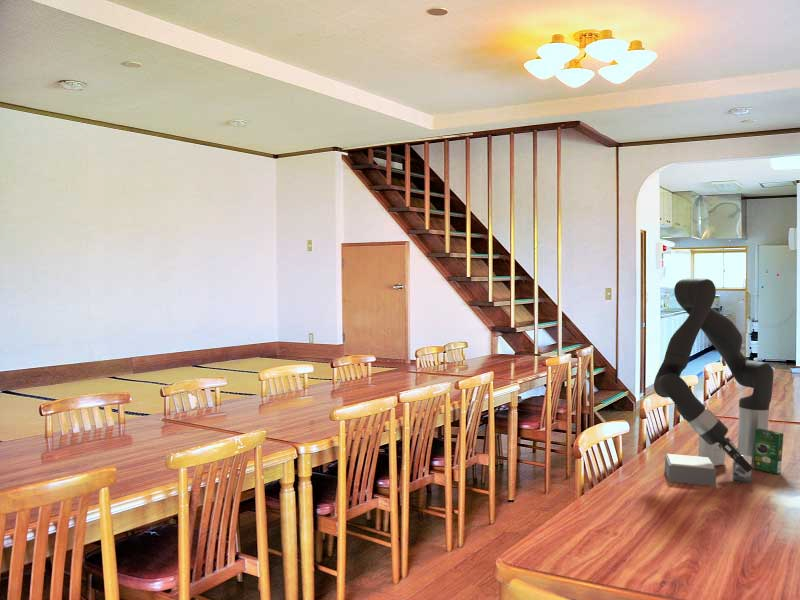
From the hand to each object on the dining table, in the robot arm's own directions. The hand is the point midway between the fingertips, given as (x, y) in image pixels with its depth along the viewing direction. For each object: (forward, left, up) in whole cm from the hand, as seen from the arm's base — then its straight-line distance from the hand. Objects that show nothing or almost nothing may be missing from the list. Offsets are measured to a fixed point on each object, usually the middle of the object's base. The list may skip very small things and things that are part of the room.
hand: (747, 466), depth 211 cm
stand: (+2, -16, -5) cm, 17 cm away
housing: (0, -1, -5) cm, 5 cm away
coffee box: (-15, +9, -5) cm, 18 cm away
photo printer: (-17, -7, -5) cm, 19 cm away
